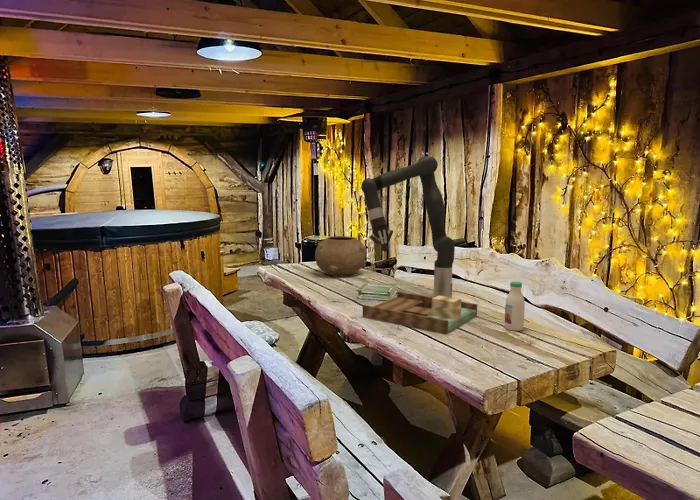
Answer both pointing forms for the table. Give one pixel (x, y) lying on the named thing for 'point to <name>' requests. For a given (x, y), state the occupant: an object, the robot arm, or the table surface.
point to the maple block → (446, 307)
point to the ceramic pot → (340, 255)
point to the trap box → (418, 313)
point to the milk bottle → (515, 308)
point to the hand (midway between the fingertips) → (385, 251)
